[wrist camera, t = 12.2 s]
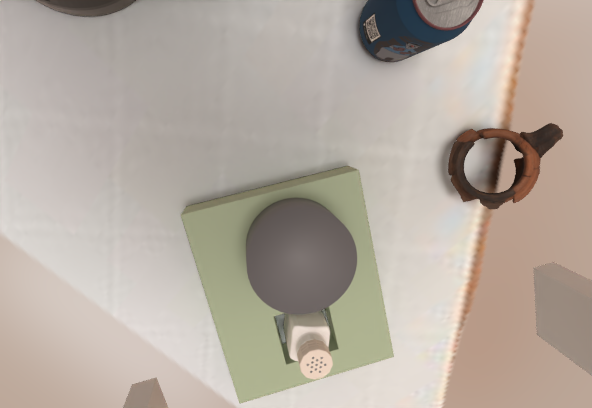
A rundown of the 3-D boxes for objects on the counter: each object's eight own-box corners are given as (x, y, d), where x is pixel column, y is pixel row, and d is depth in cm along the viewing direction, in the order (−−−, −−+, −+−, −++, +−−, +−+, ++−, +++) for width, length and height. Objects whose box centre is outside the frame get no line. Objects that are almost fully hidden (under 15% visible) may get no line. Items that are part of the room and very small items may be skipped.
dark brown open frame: (480, 222, 46) (489, 228, 38) (428, 164, 48) (426, 159, 40) (571, 156, 42) (601, 148, 34) (511, 97, 44) (527, 77, 36)
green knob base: (186, 206, 39) (171, 228, 31) (347, 165, 41) (376, 176, 32) (239, 379, 45) (239, 441, 36) (381, 337, 46) (413, 386, 37)
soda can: (410, -16, 38) (484, -79, 27) (425, 52, 40) (501, 21, 28) (347, 4, 38) (394, -50, 26) (365, 72, 39) (418, 50, 28)
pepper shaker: (282, 329, 44) (293, 383, 35) (285, 298, 43) (297, 345, 34) (315, 330, 45) (334, 383, 36) (319, 299, 44) (339, 345, 35)
